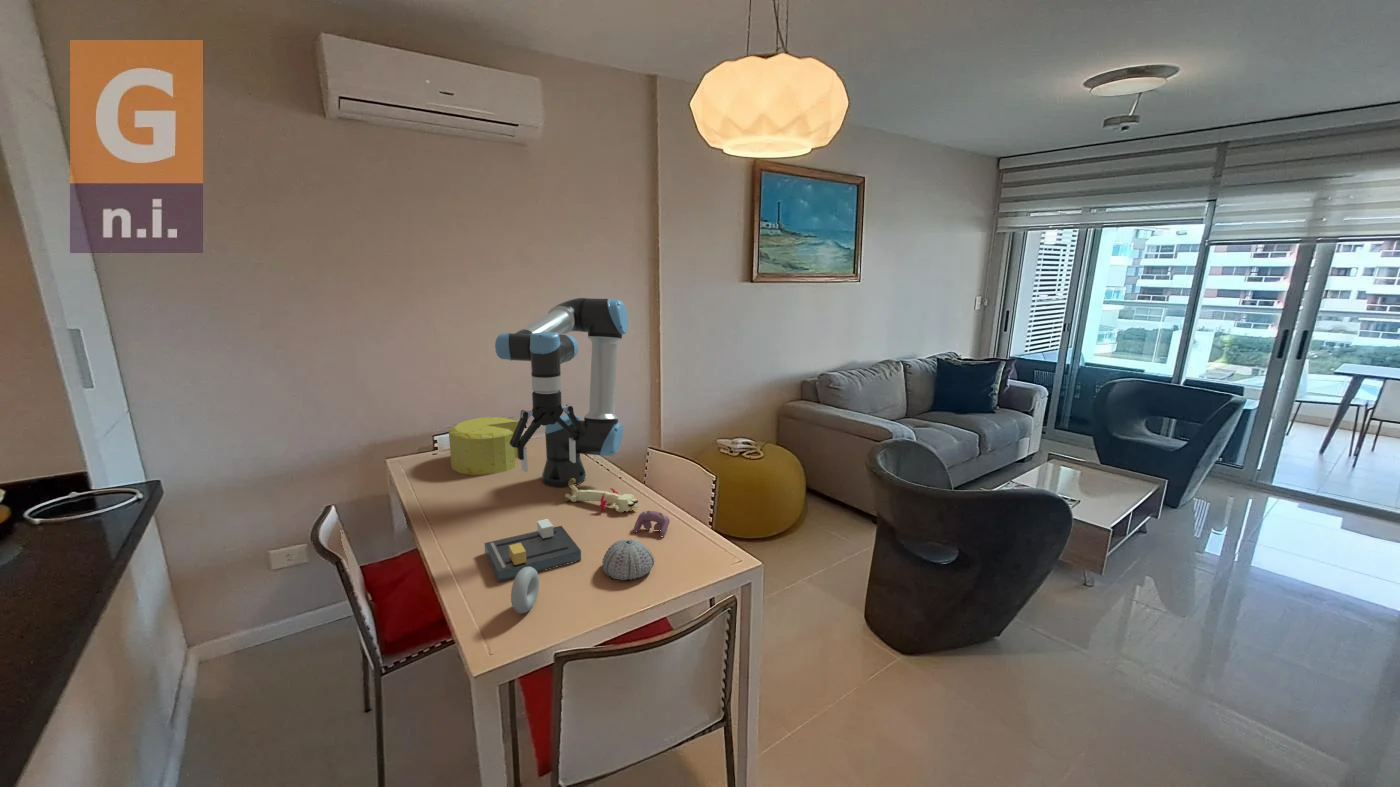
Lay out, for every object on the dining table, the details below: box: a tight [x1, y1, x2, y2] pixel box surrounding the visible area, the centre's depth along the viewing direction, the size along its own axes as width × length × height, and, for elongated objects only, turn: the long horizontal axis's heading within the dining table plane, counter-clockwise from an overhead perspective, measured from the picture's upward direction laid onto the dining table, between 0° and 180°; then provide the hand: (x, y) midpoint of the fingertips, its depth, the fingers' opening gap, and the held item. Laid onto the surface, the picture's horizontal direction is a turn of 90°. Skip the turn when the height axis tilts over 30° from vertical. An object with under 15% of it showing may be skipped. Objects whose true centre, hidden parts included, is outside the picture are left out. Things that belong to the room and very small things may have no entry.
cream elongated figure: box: [564, 478, 640, 513], centre depth 180 cm, size 10×9×25 cm
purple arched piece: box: [633, 510, 670, 537], centre depth 164 cm, size 10×5×7 cm, turn 71°
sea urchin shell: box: [601, 538, 656, 581], centre depth 143 cm, size 13×14×8 cm
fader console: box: [484, 525, 582, 583], centre depth 149 cm, size 21×16×3 cm
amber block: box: [509, 543, 526, 565], centre depth 141 cm, size 3×5×3 cm, turn 32°
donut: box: [510, 567, 540, 614], centre depth 126 cm, size 10×4×10 cm, turn 173°
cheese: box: [448, 416, 523, 476], centre depth 214 cm, size 26×26×15 cm
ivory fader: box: [536, 518, 554, 538], centre depth 155 cm, size 3×5×3 cm, turn 32°
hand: (549, 465), depth 155 cm, fingers open, 13 cm apart
